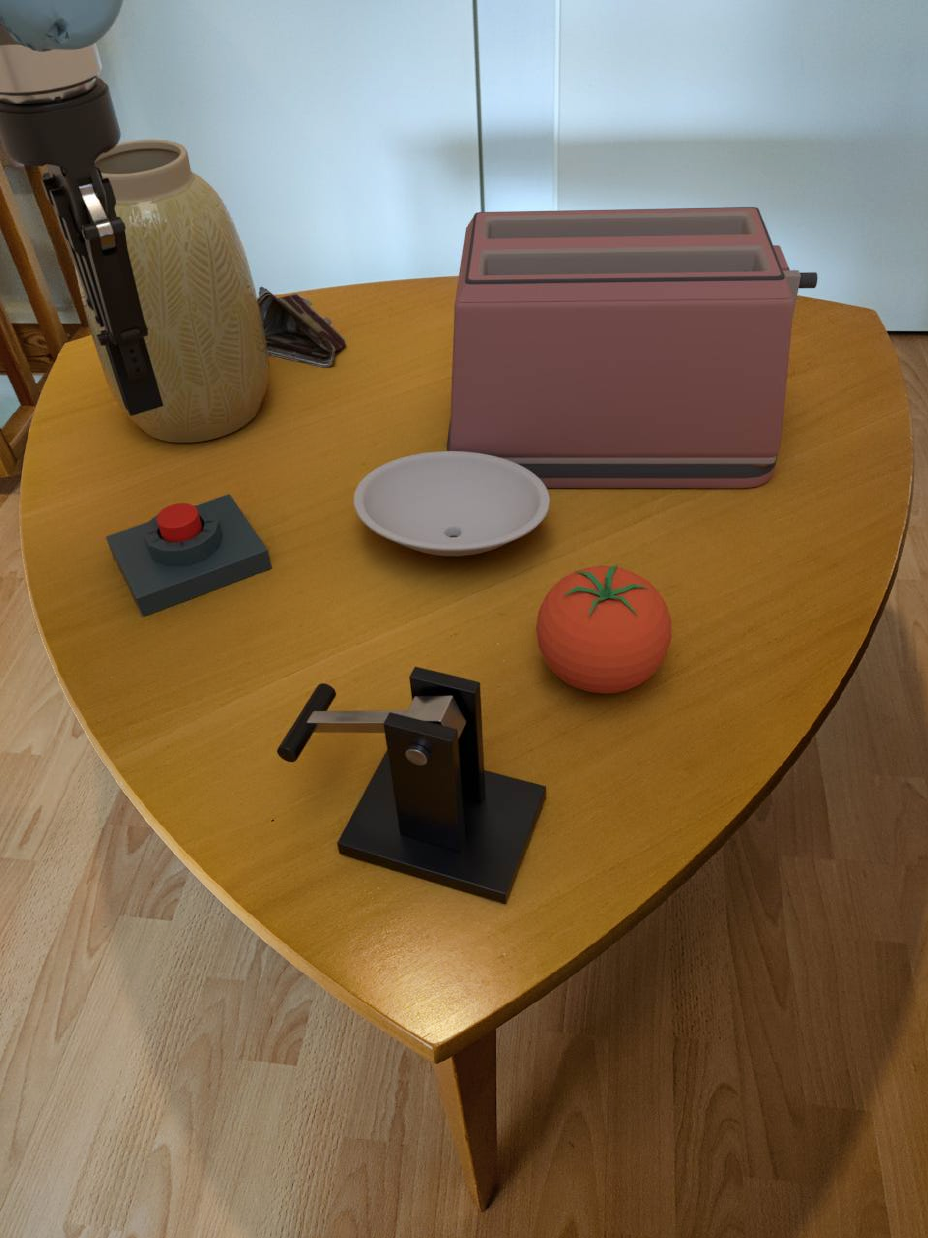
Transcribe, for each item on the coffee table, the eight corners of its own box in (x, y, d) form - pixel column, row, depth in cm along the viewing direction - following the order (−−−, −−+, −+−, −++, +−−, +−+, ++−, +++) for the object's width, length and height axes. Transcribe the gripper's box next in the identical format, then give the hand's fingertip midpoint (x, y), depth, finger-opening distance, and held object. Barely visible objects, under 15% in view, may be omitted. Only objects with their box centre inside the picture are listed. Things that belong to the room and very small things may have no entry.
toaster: (800, 491, 95) (847, 286, 81) (445, 490, 97) (431, 292, 83) (768, 386, 109) (804, 196, 95) (458, 388, 111) (448, 203, 97)
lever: (286, 767, 66) (269, 742, 64) (326, 702, 70) (311, 678, 68) (443, 772, 60) (428, 744, 58) (477, 700, 64) (463, 673, 62)
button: (168, 548, 87) (163, 532, 86) (156, 526, 89) (151, 511, 88) (207, 534, 88) (203, 518, 87) (194, 513, 91) (190, 498, 89)
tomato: (681, 646, 81) (695, 551, 74) (643, 736, 74) (655, 641, 67) (562, 614, 84) (565, 520, 77) (515, 697, 77) (514, 603, 71)
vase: (306, 415, 109) (260, 158, 90) (158, 474, 102) (76, 208, 83) (236, 355, 119) (181, 113, 100) (98, 405, 112) (12, 155, 94)
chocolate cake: (371, 346, 120) (314, 260, 119) (339, 356, 114) (279, 266, 113) (322, 388, 126) (267, 307, 125) (289, 400, 120) (231, 315, 119)
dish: (338, 580, 88) (331, 536, 85) (383, 485, 99) (378, 442, 95) (534, 603, 85) (534, 559, 82) (560, 503, 95) (561, 459, 92)
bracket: (338, 854, 68) (310, 732, 59) (391, 755, 74) (372, 631, 65) (506, 905, 64) (502, 784, 56) (546, 797, 70) (549, 672, 62)
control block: (143, 617, 86) (130, 582, 83) (112, 554, 93) (99, 520, 90) (272, 568, 90) (264, 533, 87) (234, 511, 97) (225, 477, 94)
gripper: (132, 99, 61) (216, 429, 77) (78, 51, 69) (164, 358, 86) (7, 124, 58) (120, 460, 74) (-33, 71, 67) (77, 383, 83)
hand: (143, 405), depth 80 cm, fingers closed
